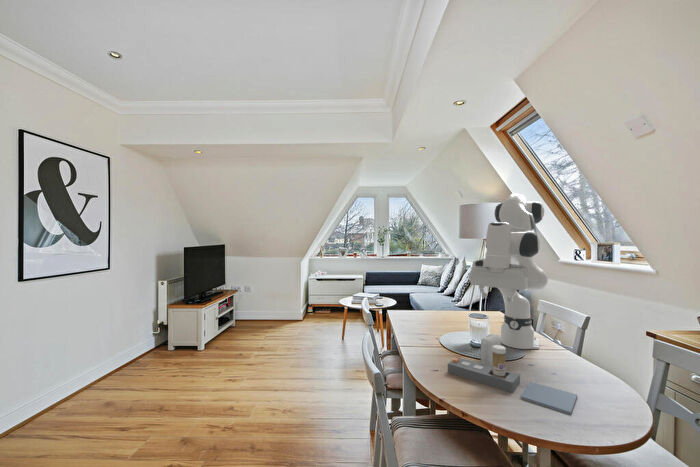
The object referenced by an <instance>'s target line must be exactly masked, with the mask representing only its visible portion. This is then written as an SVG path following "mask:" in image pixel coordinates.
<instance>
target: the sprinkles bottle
mask: <svg viewBox="0 0 700 467" xmlns="http://www.w3.org/2000/svg"><path fill="white" fill-rule="evenodd" d="M506 350H507V349H506V347H505V346H503V345H501V346H500V345H493V346H492V352H493V359H492V373H493V375H494V376H498V377H501V378H505V370H506Z"/></svg>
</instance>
